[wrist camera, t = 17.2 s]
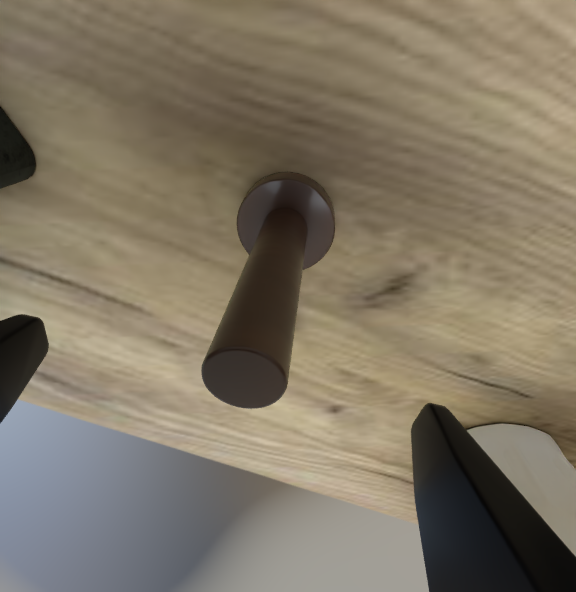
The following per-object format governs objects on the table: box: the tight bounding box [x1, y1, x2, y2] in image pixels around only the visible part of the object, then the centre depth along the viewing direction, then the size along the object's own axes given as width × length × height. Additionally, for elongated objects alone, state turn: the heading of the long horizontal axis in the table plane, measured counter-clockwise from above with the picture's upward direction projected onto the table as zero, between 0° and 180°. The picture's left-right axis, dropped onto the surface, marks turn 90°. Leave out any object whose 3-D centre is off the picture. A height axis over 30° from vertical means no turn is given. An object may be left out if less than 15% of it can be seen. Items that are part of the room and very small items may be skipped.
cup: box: [467, 423, 576, 556], centre depth 20 cm, size 12×12×11 cm
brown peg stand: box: [202, 172, 335, 408], centre depth 12 cm, size 4×4×10 cm
